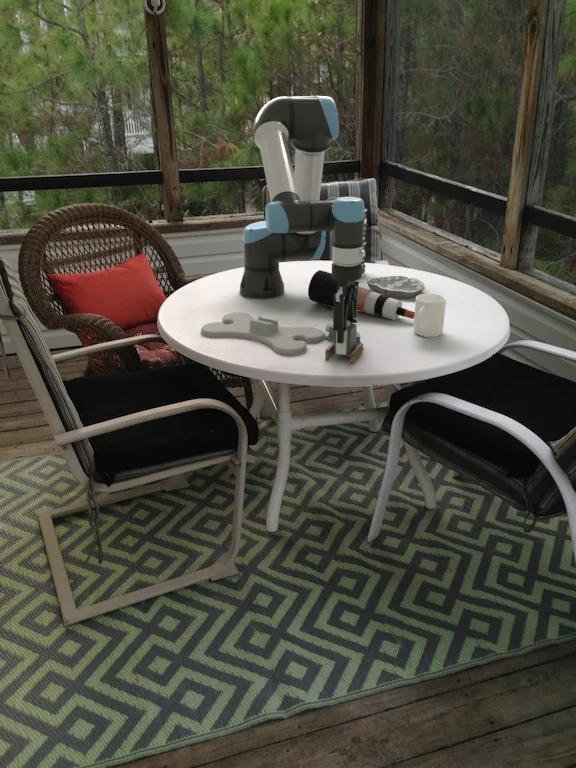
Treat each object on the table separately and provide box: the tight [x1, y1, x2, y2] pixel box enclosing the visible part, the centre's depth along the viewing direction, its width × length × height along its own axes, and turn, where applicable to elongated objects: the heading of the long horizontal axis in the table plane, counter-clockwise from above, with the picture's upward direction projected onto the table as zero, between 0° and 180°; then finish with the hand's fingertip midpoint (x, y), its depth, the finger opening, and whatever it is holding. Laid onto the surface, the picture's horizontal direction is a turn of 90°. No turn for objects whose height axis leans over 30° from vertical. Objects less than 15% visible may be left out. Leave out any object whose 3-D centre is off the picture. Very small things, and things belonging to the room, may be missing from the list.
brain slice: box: [366, 275, 426, 300], centre depth 224 cm, size 20×17×3 cm
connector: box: [334, 320, 357, 357], centre depth 170 cm, size 4×4×8 cm
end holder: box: [324, 342, 364, 365], centre depth 172 cm, size 8×8×3 cm
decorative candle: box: [360, 206, 369, 278], centre depth 237 cm, size 9×9×25 cm
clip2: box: [356, 331, 364, 351], centre depth 178 cm, size 5×6×4 cm
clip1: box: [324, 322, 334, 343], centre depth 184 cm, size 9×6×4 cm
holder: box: [200, 312, 326, 356], centre depth 187 cm, size 19×34×5 cm, turn 58°
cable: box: [307, 269, 415, 321], centre depth 202 cm, size 10×34×10 cm, turn 56°
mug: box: [413, 293, 447, 338], centre depth 185 cm, size 12×8×10 cm
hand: (344, 349), depth 172 cm, fingers closed on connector, 4 cm apart
